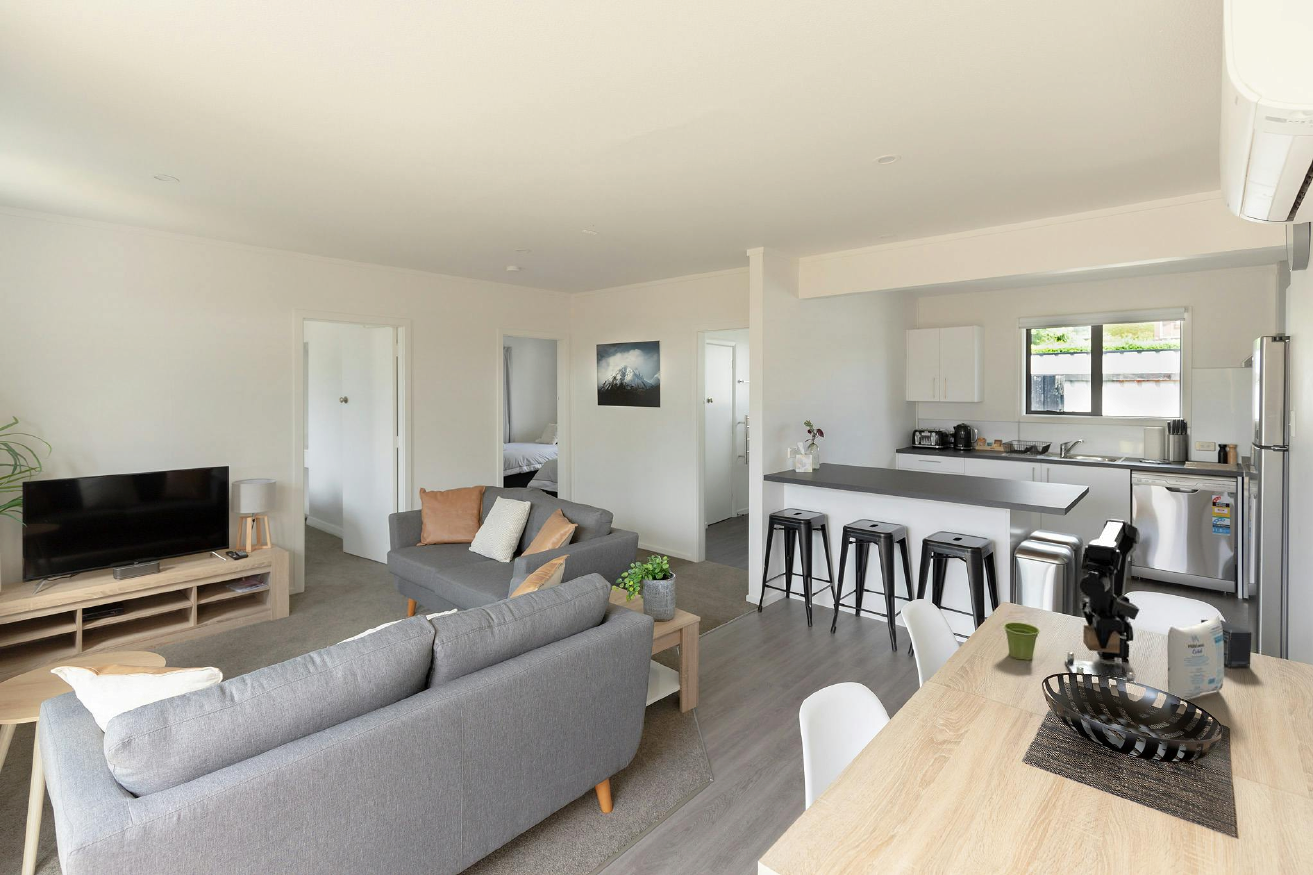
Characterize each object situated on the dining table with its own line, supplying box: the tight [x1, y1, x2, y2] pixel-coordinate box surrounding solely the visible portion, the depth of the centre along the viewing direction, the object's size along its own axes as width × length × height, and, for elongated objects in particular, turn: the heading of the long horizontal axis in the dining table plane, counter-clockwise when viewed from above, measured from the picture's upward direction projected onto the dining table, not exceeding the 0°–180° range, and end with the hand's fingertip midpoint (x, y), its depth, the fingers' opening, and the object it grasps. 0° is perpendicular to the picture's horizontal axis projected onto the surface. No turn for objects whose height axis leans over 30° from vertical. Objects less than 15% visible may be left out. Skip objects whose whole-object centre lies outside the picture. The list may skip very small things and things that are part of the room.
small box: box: [1200, 619, 1253, 669], centre depth 189 cm, size 11×6×10 cm, turn 179°
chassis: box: [1064, 651, 1137, 684], centre depth 182 cm, size 14×13×3 cm
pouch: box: [1166, 615, 1225, 701], centre depth 167 cm, size 8×19×20 cm, turn 107°
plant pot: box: [1003, 622, 1040, 661], centre depth 196 cm, size 9×9×9 cm
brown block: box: [1082, 624, 1120, 653], centre depth 182 cm, size 6×7×5 cm
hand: (1099, 644), depth 182 cm, fingers closed on brown block, 6 cm apart
